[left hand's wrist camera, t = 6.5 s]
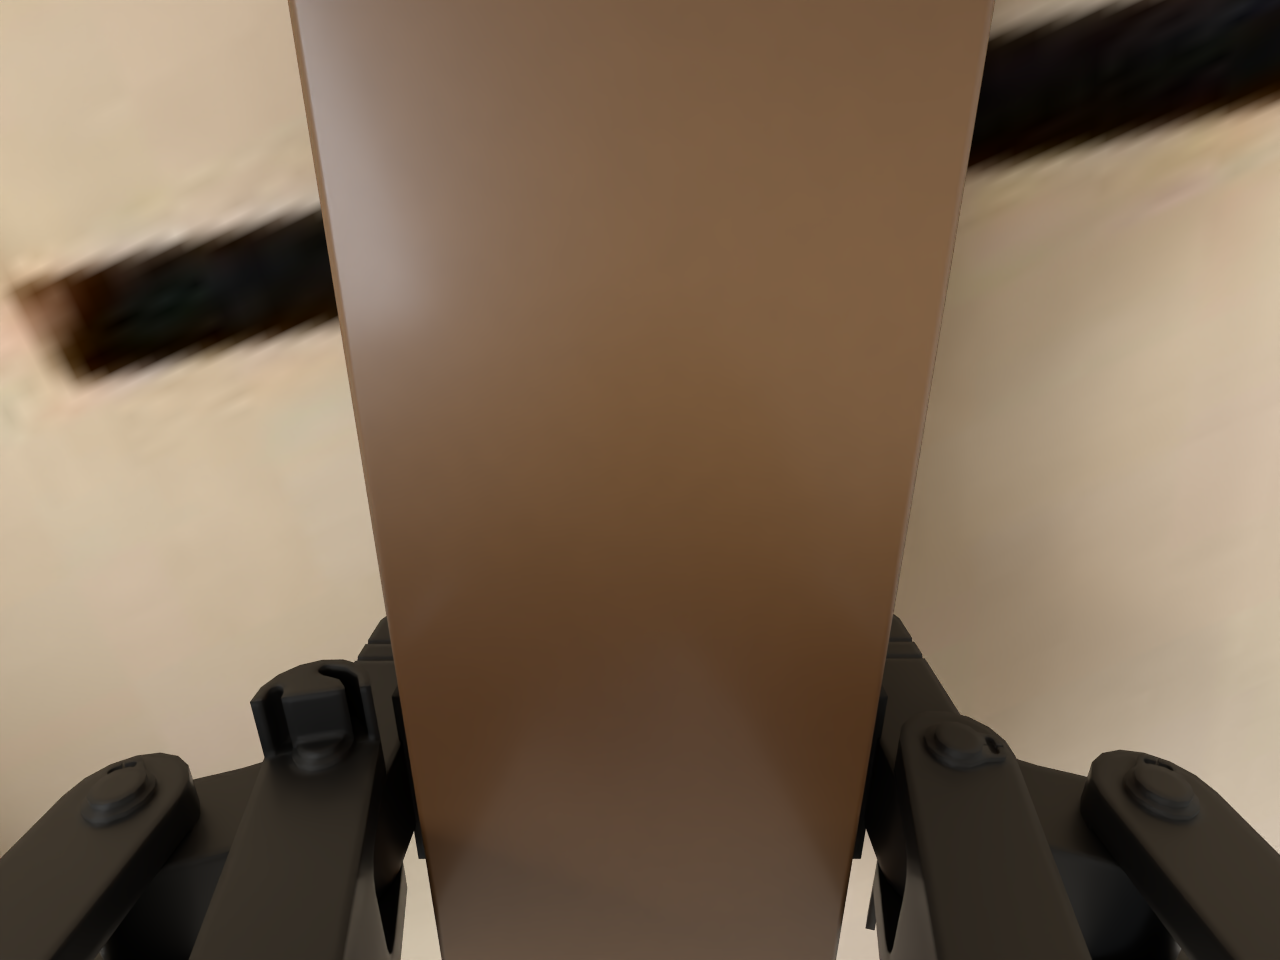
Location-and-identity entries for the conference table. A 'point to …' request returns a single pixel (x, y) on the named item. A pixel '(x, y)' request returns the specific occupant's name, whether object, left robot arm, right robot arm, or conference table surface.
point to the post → (640, 434)
